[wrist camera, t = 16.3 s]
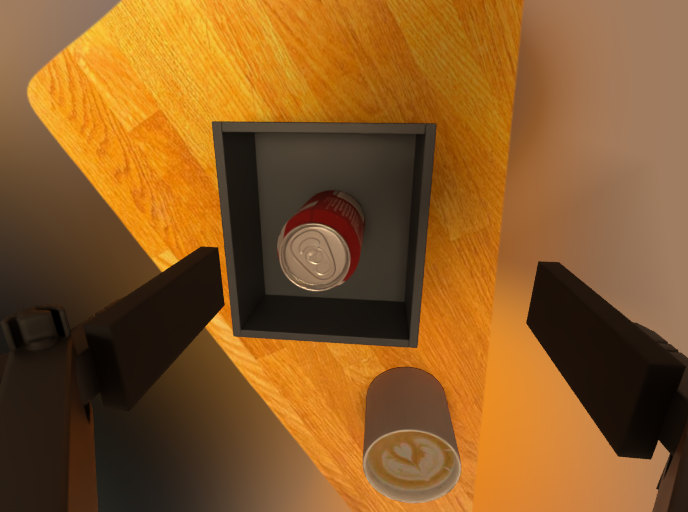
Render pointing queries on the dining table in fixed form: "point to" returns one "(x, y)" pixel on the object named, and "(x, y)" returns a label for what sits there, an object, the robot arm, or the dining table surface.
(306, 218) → the soda can
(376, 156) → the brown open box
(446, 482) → the coffee mug
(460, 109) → the dining table surface
